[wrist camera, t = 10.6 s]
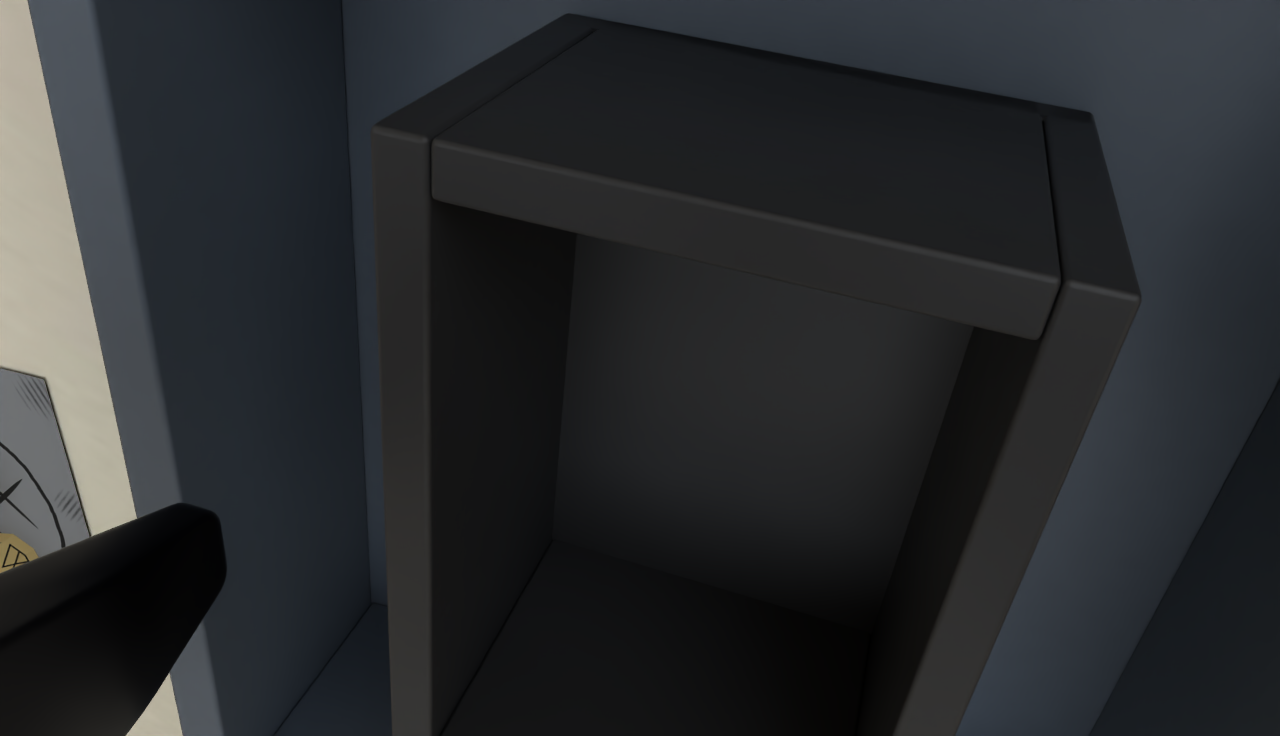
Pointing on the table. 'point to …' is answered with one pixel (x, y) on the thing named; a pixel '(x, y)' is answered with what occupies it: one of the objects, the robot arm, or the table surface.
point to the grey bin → (348, 337)
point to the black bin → (724, 384)
